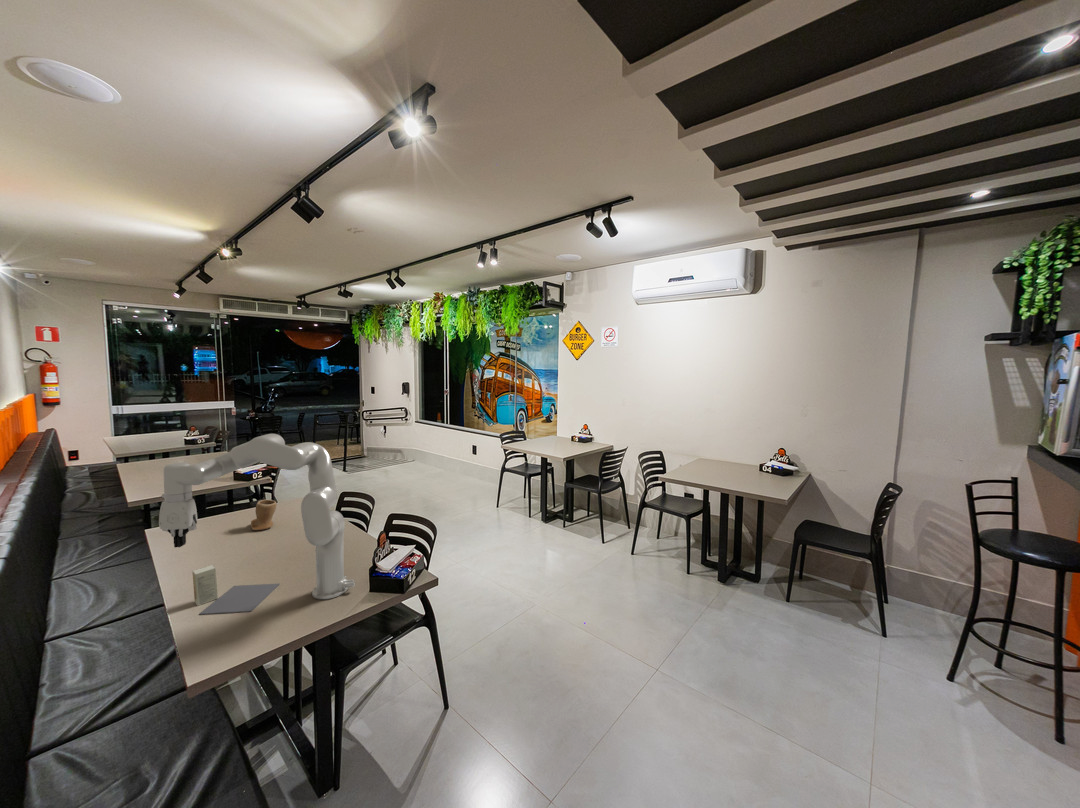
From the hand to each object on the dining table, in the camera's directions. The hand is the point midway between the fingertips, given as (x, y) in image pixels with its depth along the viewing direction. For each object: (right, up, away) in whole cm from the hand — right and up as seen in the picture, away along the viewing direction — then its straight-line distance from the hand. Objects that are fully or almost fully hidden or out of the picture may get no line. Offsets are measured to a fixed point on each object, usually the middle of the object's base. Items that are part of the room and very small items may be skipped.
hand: (180, 545), depth 146 cm
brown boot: (-22, -17, +76) cm, 81 cm away
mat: (+20, -21, +4) cm, 30 cm away
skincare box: (+8, -22, +2) cm, 23 cm away
